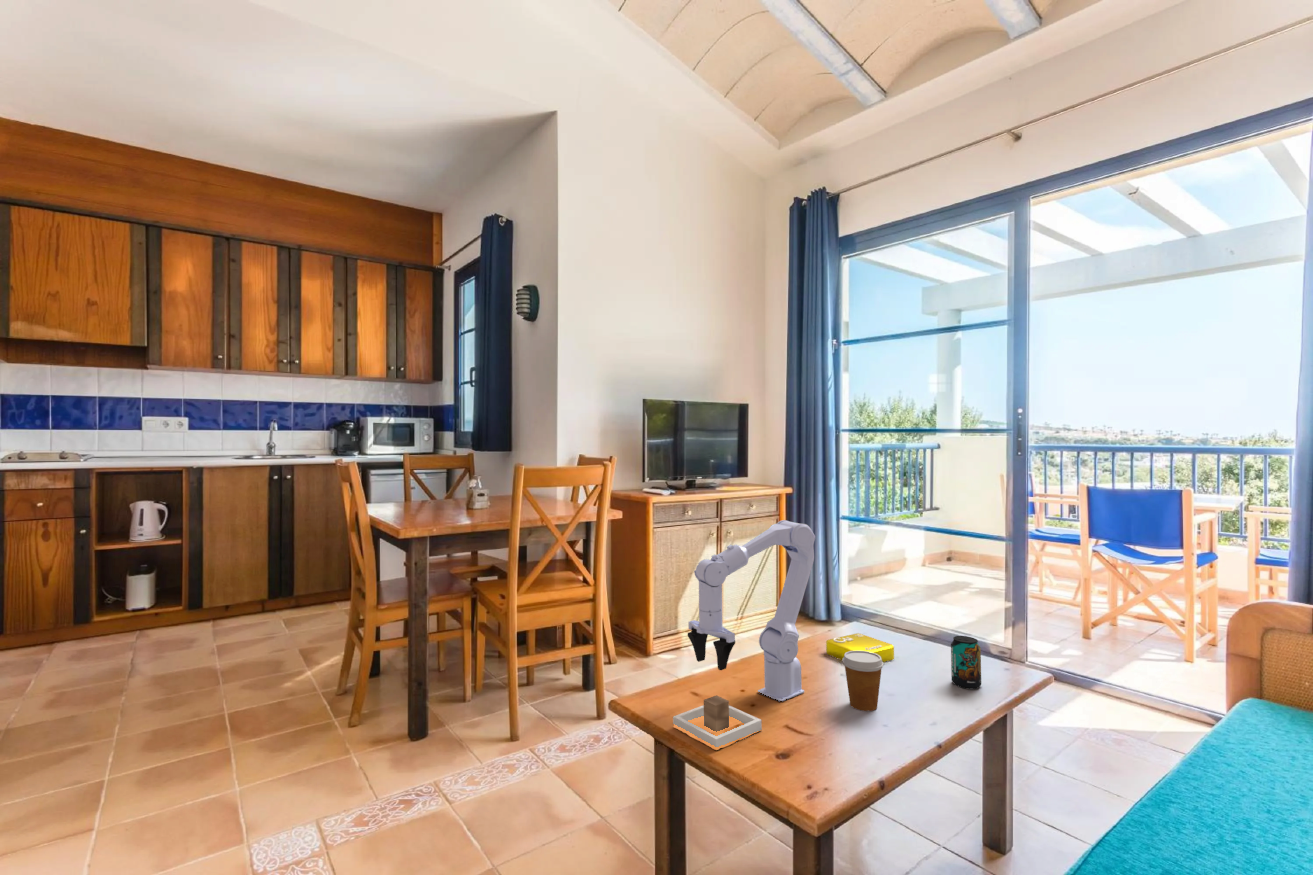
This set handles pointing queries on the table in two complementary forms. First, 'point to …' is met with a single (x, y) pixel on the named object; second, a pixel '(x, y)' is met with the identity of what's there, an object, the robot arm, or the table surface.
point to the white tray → (748, 728)
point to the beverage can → (966, 662)
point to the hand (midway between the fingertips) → (711, 664)
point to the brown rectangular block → (716, 713)
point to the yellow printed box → (859, 646)
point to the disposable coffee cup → (863, 678)
